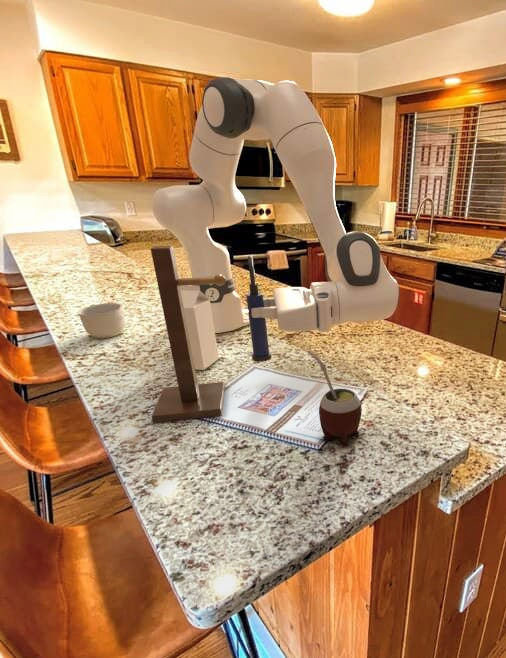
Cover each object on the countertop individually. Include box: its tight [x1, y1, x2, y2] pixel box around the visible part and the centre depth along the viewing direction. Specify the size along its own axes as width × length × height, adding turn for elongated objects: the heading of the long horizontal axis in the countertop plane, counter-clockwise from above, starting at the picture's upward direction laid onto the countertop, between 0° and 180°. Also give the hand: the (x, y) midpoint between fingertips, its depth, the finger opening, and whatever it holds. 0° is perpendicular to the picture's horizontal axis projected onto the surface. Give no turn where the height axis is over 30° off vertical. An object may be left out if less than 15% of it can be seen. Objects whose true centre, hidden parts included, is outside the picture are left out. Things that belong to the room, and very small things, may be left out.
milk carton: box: [180, 285, 220, 371], centre depth 98 cm, size 7×7×19 cm
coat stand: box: [150, 245, 226, 424], centre depth 78 cm, size 12×16×30 cm
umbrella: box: [245, 254, 273, 363], centre depth 84 cm, size 6×4×21 cm, turn 13°
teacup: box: [77, 302, 127, 339], centre depth 122 cm, size 14×11×8 cm
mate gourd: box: [307, 349, 363, 448], centre depth 70 cm, size 8×8×15 cm
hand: (251, 309), depth 84 cm, fingers closed on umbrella, 3 cm apart
